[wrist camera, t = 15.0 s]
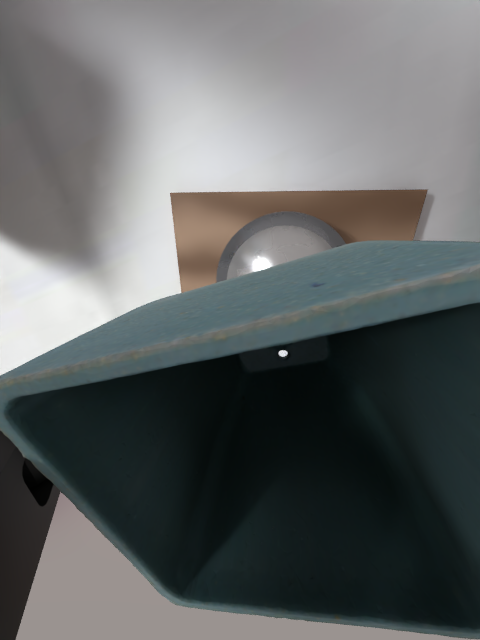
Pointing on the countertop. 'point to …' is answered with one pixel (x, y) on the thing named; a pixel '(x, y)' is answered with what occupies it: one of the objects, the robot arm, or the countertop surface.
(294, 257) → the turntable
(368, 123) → the countertop surface
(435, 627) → the flower pot
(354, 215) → the base
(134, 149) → the countertop surface
